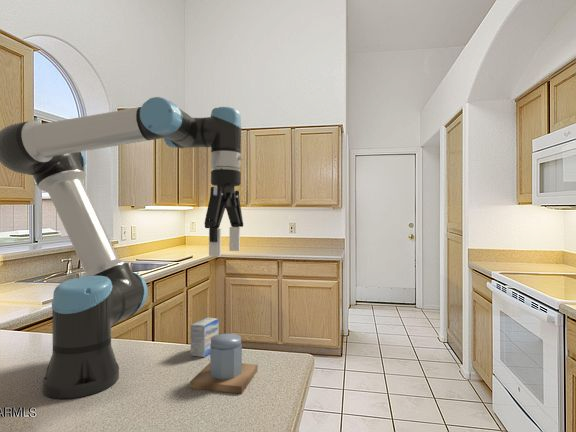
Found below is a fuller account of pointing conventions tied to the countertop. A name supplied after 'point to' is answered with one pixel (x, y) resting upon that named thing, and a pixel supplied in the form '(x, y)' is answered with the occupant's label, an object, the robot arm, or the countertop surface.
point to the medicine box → (203, 336)
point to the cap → (225, 356)
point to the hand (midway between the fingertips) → (225, 253)
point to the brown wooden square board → (224, 380)
